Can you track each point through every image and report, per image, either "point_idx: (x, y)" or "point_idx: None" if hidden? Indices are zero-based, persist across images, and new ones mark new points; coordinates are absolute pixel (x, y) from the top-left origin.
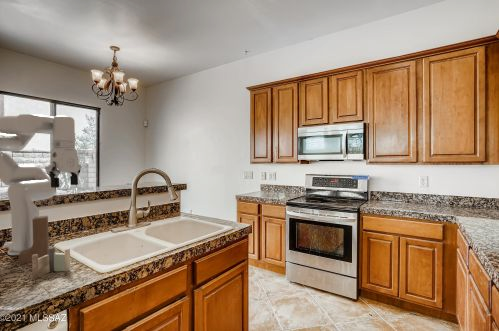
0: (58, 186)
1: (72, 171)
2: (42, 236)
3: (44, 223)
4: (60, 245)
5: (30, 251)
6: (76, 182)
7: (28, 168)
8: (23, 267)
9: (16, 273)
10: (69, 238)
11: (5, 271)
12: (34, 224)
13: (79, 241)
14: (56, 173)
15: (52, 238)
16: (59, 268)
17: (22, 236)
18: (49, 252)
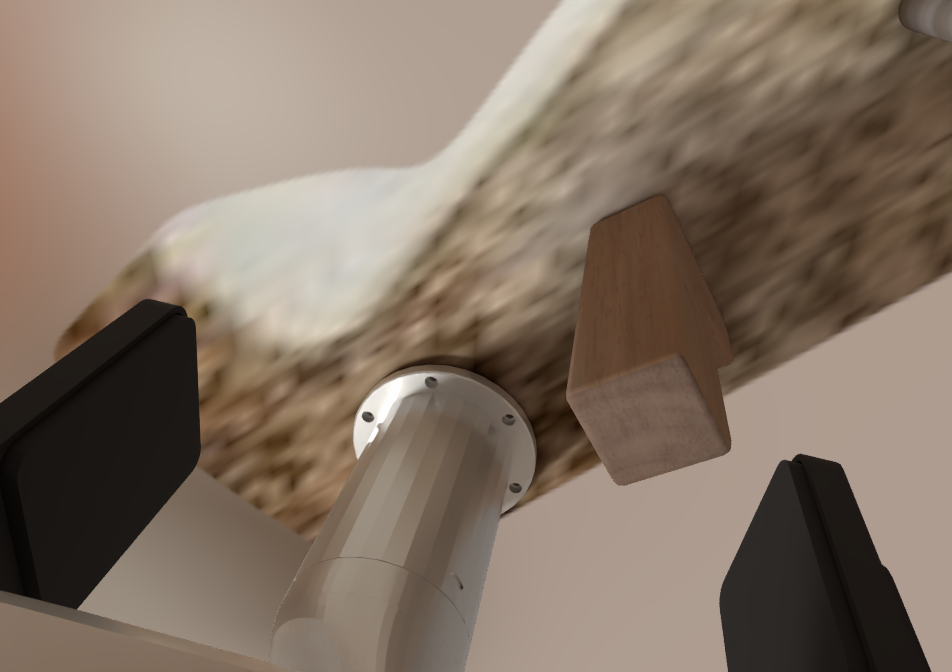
0: (827, 467)
1: (205, 657)
2: (688, 291)
3: (690, 334)
4: (339, 294)
5: (710, 311)
6: (156, 342)
7: None
8: (762, 279)
9: (870, 256)
10: None
11: (811, 344)
12: (722, 405)
13: (241, 205)
14: None
15: (210, 426)
16: None
17: (488, 503)
18: None
